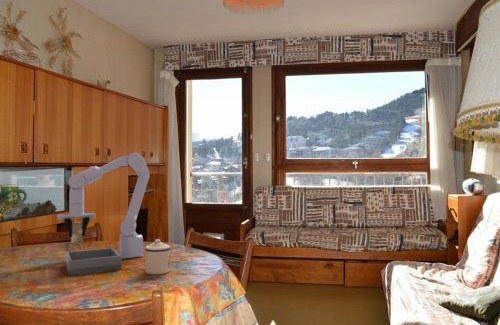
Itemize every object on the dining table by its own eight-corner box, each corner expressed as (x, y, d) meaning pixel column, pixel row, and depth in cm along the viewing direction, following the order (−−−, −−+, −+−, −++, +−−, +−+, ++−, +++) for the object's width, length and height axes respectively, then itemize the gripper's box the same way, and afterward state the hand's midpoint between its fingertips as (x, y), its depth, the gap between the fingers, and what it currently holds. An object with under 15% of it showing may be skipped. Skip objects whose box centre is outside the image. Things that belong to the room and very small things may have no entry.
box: (113, 259, 172) (113, 247, 172) (121, 269, 156) (121, 256, 156) (65, 264, 164) (65, 252, 164) (68, 275, 148) (68, 261, 148)
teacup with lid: (174, 272, 152) (174, 240, 152) (150, 276, 146) (150, 242, 147) (161, 266, 161) (161, 235, 162) (138, 269, 156) (138, 238, 156)
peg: (82, 240, 177) (82, 221, 177) (83, 242, 173) (83, 223, 173) (70, 241, 175) (70, 222, 175) (71, 243, 171) (71, 223, 171)
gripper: (94, 202, 181) (94, 233, 181) (57, 203, 174) (57, 236, 174) (96, 203, 175) (96, 235, 175) (58, 205, 168) (58, 238, 168)
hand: (76, 236), depth 174 cm, fingers closed on peg, 4 cm apart
